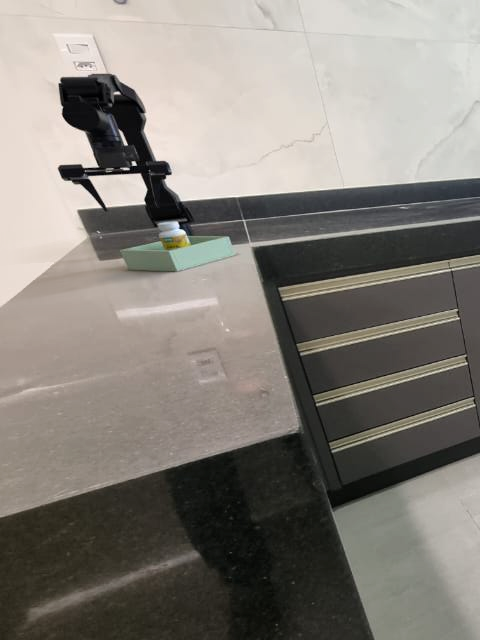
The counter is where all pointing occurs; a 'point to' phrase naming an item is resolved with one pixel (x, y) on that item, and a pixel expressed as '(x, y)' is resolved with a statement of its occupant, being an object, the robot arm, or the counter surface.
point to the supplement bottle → (172, 236)
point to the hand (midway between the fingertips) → (133, 209)
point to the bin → (178, 254)
